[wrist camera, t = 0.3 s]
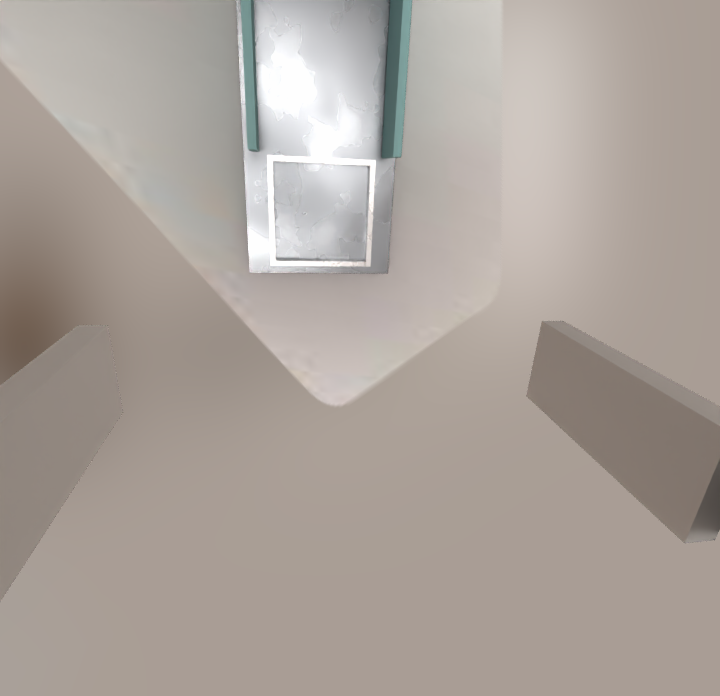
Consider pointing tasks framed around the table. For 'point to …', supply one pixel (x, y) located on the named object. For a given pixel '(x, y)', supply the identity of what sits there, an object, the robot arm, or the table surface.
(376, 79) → the plate
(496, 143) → the table surface
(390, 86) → the housing
